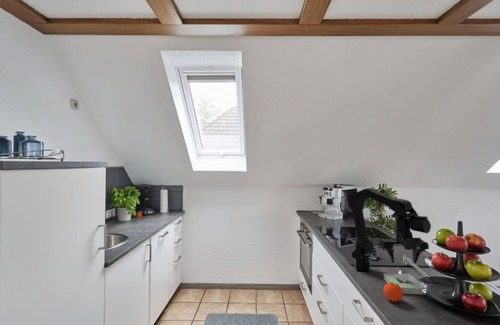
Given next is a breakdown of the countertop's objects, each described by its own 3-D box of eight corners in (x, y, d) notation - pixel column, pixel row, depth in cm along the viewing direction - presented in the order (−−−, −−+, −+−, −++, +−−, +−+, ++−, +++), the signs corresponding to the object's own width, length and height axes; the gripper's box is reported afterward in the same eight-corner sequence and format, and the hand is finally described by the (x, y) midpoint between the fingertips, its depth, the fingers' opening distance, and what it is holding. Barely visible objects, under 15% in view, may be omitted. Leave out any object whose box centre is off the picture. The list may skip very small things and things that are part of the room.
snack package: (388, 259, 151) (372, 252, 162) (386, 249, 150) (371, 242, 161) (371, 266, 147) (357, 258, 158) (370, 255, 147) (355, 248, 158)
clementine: (399, 295, 109) (398, 278, 109) (409, 304, 102) (409, 286, 102) (380, 296, 109) (379, 279, 109) (389, 305, 102) (389, 287, 102)
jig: (396, 293, 111) (396, 287, 111) (383, 278, 125) (383, 273, 125) (426, 294, 110) (426, 288, 110) (410, 279, 124) (410, 274, 124)
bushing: (401, 288, 116) (400, 272, 116) (397, 283, 120) (396, 268, 120) (410, 288, 115) (410, 272, 115) (406, 284, 119) (406, 268, 119)
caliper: (402, 264, 144) (402, 252, 144) (404, 264, 144) (404, 252, 144) (429, 280, 123) (428, 267, 123) (431, 280, 123) (431, 267, 123)
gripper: (388, 232, 111) (389, 269, 110) (435, 233, 108) (436, 271, 108) (378, 226, 122) (379, 260, 122) (421, 227, 119) (422, 261, 119)
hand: (403, 263), depth 117 cm, fingers open, 9 cm apart
